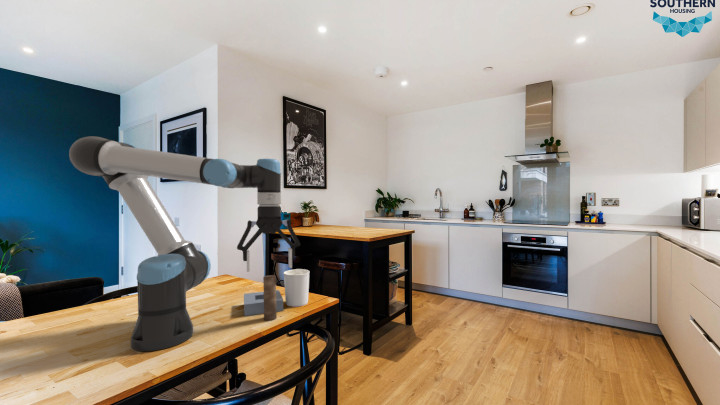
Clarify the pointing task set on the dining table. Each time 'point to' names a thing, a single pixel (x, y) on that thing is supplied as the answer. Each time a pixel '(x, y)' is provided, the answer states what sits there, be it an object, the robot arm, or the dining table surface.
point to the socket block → (259, 303)
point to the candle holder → (296, 287)
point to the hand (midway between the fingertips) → (269, 269)
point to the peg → (269, 297)
